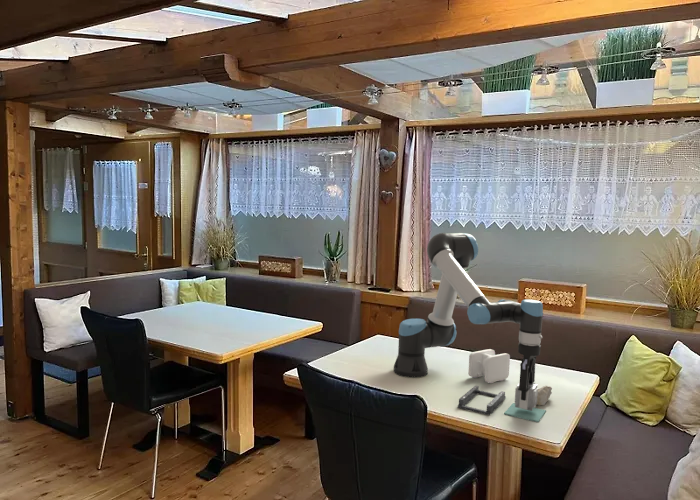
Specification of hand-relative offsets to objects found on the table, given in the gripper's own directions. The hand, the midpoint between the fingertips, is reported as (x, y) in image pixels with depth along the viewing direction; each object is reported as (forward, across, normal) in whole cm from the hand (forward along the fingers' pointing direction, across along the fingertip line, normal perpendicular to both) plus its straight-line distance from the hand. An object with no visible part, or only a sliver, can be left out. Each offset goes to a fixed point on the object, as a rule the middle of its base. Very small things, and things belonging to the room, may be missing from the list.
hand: (525, 405), depth 192 cm
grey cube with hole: (0, 0, 0) cm, 0 cm away
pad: (+3, 0, 0) cm, 3 cm away
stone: (+3, +15, -1) cm, 16 cm away
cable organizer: (+3, +30, +23) cm, 38 cm away
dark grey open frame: (+3, 0, +16) cm, 16 cm away
